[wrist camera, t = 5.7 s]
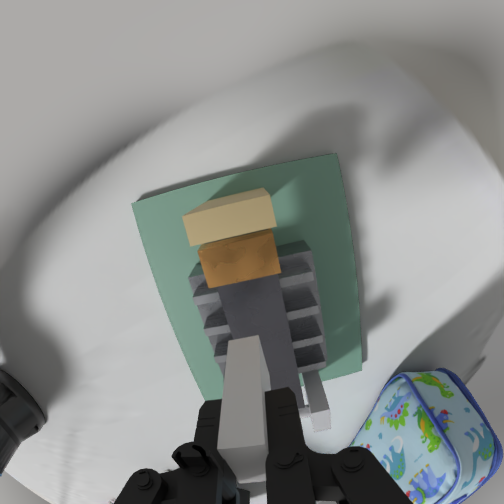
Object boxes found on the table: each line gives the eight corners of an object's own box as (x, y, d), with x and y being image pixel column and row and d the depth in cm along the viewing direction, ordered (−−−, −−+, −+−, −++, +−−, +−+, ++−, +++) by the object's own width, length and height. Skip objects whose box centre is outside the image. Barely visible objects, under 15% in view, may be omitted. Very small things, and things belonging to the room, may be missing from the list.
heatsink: (227, 359, 28) (223, 394, 23) (196, 264, 26) (182, 287, 20) (320, 340, 28) (332, 373, 23) (303, 239, 25) (317, 257, 20)
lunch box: (379, 461, 37) (408, 544, 17) (328, 467, 37) (347, 563, 17) (448, 354, 30) (527, 451, 10) (390, 357, 30) (469, 488, 10)
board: (206, 395, 31) (194, 459, 22) (135, 202, 25) (77, 219, 15) (359, 365, 30) (388, 424, 20) (333, 153, 24) (379, 144, 14)
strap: (257, 408, 23) (258, 426, 21) (203, 240, 18) (197, 250, 16) (305, 399, 22) (309, 416, 20) (270, 225, 18) (272, 233, 16)
